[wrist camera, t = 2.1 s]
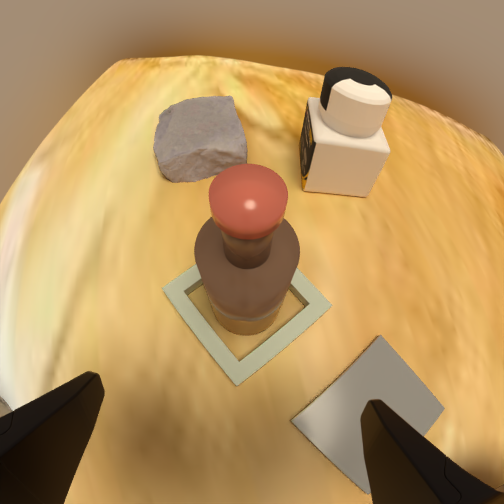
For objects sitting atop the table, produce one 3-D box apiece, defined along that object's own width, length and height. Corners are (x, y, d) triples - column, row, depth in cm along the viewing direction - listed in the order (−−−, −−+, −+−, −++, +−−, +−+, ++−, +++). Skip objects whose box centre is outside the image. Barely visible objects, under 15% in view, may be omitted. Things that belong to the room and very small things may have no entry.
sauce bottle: (241, 349, 22) (236, 287, 9) (199, 297, 23) (153, 186, 11) (293, 307, 23) (346, 202, 11) (250, 260, 25) (256, 129, 13)
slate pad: (365, 493, 16) (368, 494, 15) (290, 420, 19) (291, 421, 19) (441, 408, 19) (444, 408, 18) (378, 335, 22) (380, 334, 22)
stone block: (167, 199, 30) (256, 171, 30) (148, 171, 26) (248, 138, 26) (165, 135, 36) (236, 111, 35) (151, 108, 32) (227, 82, 31)
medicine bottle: (298, 145, 32) (314, 54, 21) (356, 152, 32) (386, 69, 21) (301, 192, 29) (326, 91, 18) (367, 199, 29) (412, 109, 18)
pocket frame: (237, 386, 20) (236, 386, 19) (165, 293, 23) (161, 288, 22) (328, 309, 23) (332, 305, 22) (253, 230, 26) (254, 223, 25)
